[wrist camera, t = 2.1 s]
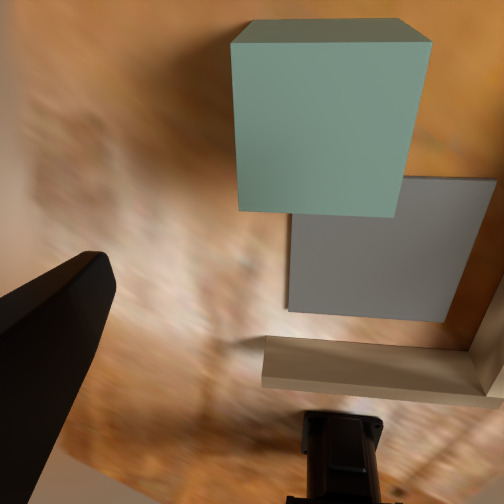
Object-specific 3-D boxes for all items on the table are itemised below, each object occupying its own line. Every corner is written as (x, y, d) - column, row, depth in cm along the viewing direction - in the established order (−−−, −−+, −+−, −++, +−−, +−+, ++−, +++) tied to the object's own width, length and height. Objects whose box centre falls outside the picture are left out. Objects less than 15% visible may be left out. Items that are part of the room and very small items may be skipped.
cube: (374, 155, 20) (393, 218, 15) (256, 152, 20) (238, 210, 16) (398, 17, 16) (433, 41, 11) (253, 19, 17) (230, 43, 12)
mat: (442, 319, 26) (443, 322, 25) (288, 308, 27) (288, 311, 26) (495, 178, 20) (497, 181, 19) (294, 172, 21) (293, 175, 21)
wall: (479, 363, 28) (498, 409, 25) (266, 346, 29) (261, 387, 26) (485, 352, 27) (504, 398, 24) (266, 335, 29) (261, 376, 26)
